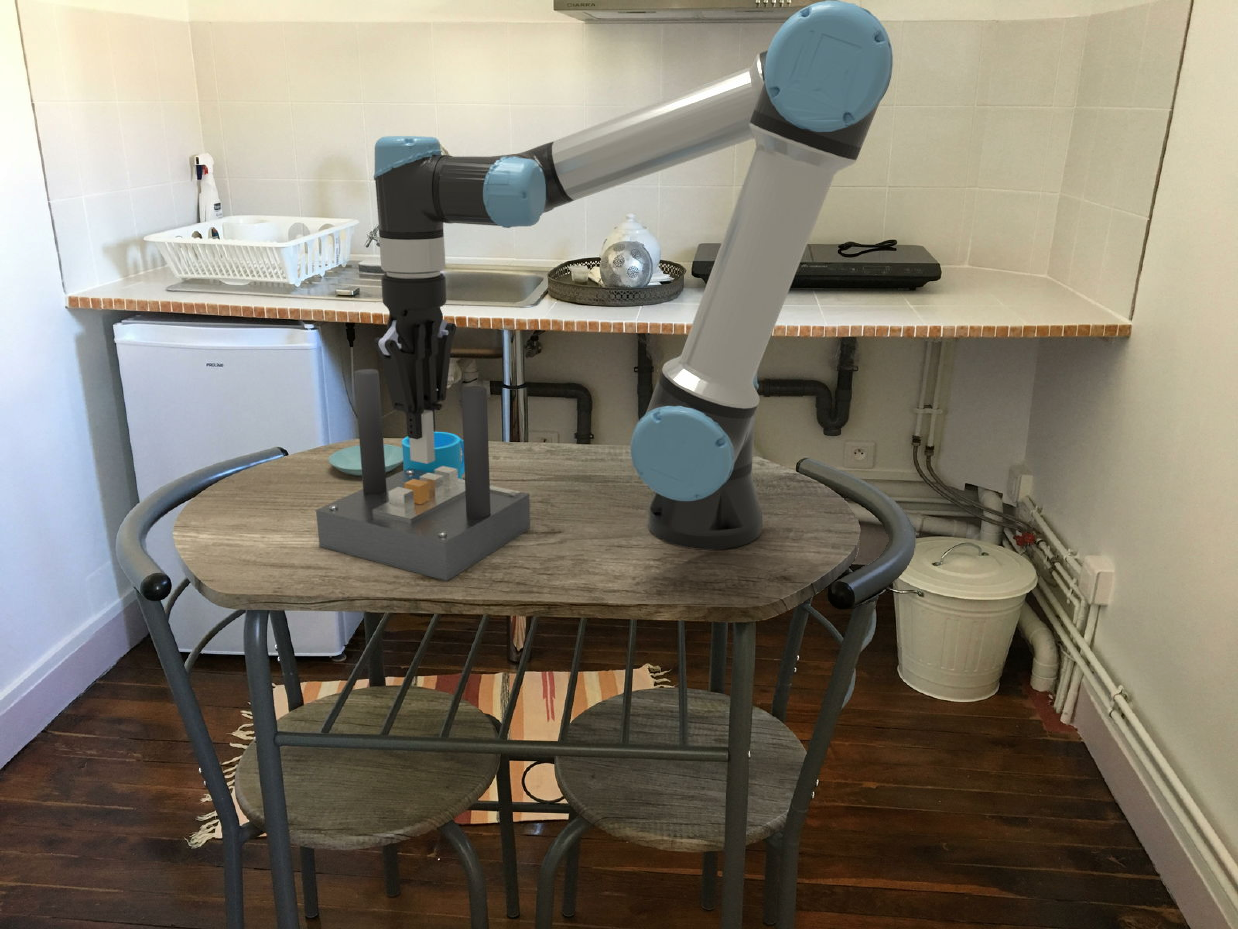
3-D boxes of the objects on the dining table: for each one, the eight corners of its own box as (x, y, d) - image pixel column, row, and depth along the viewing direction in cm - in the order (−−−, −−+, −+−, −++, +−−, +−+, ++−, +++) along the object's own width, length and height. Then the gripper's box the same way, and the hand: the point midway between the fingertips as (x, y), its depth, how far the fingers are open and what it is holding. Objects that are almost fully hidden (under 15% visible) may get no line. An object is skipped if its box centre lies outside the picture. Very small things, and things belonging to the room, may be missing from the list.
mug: (436, 508, 141) (433, 453, 138) (393, 497, 145) (389, 442, 142) (490, 483, 150) (488, 431, 148) (448, 473, 154) (445, 422, 152)
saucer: (354, 488, 148) (353, 474, 147) (315, 468, 156) (314, 454, 155) (423, 470, 156) (422, 456, 155) (382, 452, 164) (381, 438, 163)
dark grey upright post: (391, 488, 134) (383, 370, 128) (376, 495, 131) (367, 376, 126) (373, 484, 135) (365, 367, 130) (358, 491, 132) (349, 372, 127)
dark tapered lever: (495, 512, 126) (491, 388, 121) (481, 520, 124) (476, 394, 118) (475, 507, 128) (471, 385, 122) (461, 515, 125) (456, 390, 120)
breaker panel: (530, 529, 134) (529, 472, 131) (446, 581, 119) (443, 518, 116) (410, 501, 143) (407, 447, 140) (319, 546, 128) (313, 487, 125)
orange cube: (429, 499, 128) (428, 482, 127) (420, 504, 126) (419, 486, 126) (414, 496, 129) (413, 478, 128) (405, 500, 128) (404, 483, 127)
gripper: (423, 263, 127) (432, 441, 135) (350, 276, 116) (364, 470, 124) (471, 268, 124) (477, 451, 131) (401, 283, 113) (412, 481, 121)
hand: (422, 460), depth 128 cm, fingers closed
